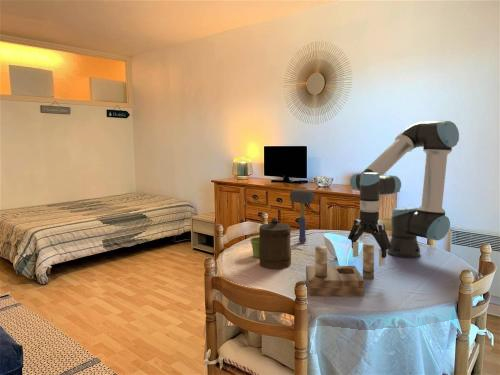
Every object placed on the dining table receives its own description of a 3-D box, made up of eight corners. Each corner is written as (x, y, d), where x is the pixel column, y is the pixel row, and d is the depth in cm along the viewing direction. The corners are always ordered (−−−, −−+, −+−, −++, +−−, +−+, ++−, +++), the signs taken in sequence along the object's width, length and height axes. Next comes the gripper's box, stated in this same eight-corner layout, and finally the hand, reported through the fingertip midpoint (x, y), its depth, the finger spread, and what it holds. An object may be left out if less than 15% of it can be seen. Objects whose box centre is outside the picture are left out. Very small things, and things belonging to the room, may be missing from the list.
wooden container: (297, 263, 177) (296, 217, 174) (278, 271, 166) (277, 223, 163) (272, 257, 186) (271, 213, 184) (253, 264, 175) (251, 219, 173)
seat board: (355, 279, 154) (355, 239, 151) (363, 296, 138) (364, 251, 136) (306, 279, 155) (305, 240, 153) (309, 295, 139) (308, 251, 137)
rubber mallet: (315, 242, 210) (315, 189, 206) (309, 245, 204) (308, 191, 200) (296, 239, 217) (295, 188, 213) (289, 242, 211) (288, 190, 207)
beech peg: (372, 275, 158) (372, 243, 156) (375, 279, 154) (375, 246, 152) (361, 275, 159) (361, 243, 157) (363, 279, 154) (364, 246, 152)
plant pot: (271, 257, 186) (271, 240, 185) (254, 260, 182) (254, 242, 181) (264, 252, 194) (264, 236, 193) (247, 254, 191) (247, 238, 190)
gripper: (340, 207, 161) (339, 254, 164) (389, 216, 140) (387, 270, 143) (352, 205, 165) (351, 251, 168) (401, 214, 144) (400, 267, 147)
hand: (368, 260), depth 155 cm, fingers open, 13 cm apart
